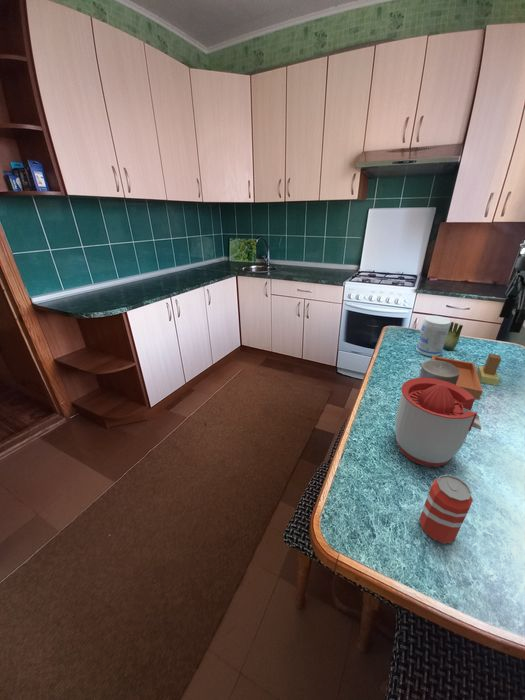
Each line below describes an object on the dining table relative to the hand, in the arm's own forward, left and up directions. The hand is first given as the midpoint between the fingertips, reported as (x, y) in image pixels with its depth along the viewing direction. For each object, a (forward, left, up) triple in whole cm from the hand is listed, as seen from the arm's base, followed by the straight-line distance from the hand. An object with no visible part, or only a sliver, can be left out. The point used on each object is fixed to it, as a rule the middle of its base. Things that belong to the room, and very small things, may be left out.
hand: (508, 324), depth 94 cm
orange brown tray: (+11, +6, -21) cm, 24 cm away
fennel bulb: (+12, -21, -21) cm, 32 cm away
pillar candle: (+18, +26, -21) cm, 38 cm away
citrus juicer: (+20, +47, -21) cm, 55 cm away
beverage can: (+18, +68, -21) cm, 73 cm away
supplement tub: (+18, -14, -21) cm, 31 cm away
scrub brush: (0, 0, -21) cm, 21 cm away
